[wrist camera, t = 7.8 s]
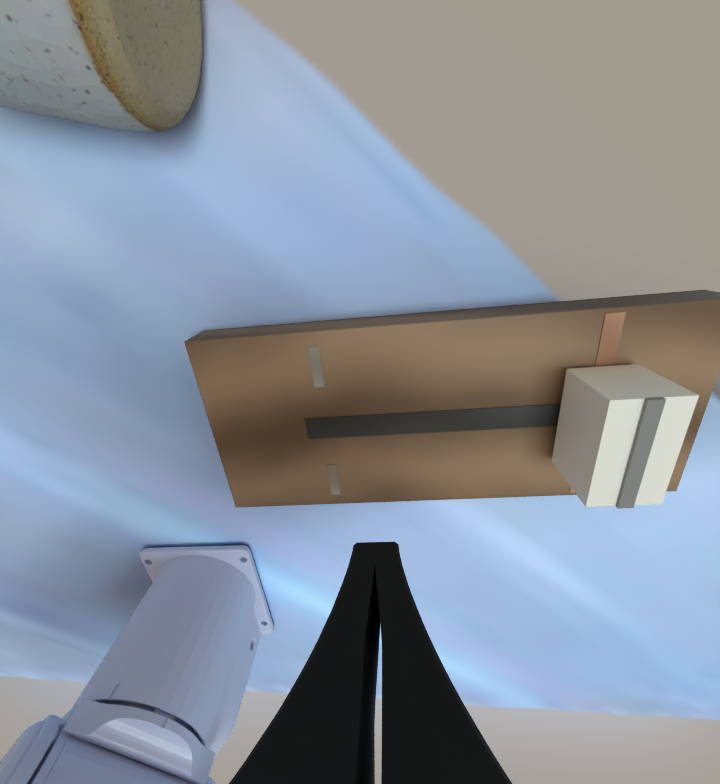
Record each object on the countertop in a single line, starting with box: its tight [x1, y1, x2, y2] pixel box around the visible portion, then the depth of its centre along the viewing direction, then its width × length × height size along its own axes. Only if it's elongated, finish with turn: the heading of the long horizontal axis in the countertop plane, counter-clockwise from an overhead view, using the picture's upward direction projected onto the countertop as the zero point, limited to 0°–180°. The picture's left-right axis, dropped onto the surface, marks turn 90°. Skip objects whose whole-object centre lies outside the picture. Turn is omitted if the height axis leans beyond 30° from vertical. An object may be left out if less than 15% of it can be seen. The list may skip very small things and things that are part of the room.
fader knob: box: [552, 364, 699, 508], centre depth 15 cm, size 5×3×3 cm, turn 5°
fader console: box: [185, 290, 720, 507], centre depth 18 cm, size 10×24×2 cm, turn 95°
